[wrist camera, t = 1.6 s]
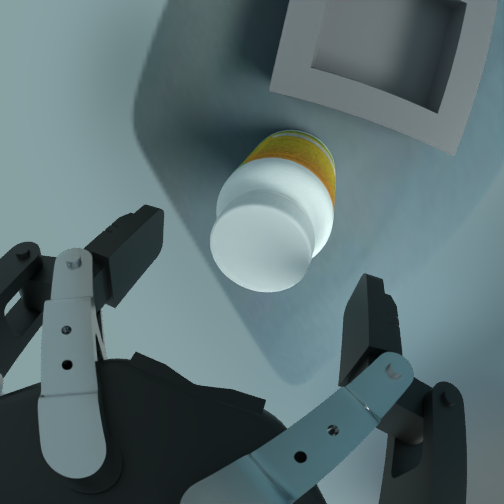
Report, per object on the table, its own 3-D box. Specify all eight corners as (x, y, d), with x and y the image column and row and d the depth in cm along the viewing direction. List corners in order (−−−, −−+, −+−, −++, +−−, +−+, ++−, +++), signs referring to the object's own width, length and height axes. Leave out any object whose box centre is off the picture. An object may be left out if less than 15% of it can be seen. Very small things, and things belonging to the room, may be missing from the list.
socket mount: (314, -55, 11) (308, -77, 8) (474, 3, 10) (498, -5, 7) (280, 86, 17) (268, 91, 14) (436, 140, 16) (454, 156, 13)
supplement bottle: (258, 120, 18) (194, 171, 11) (344, 139, 18) (348, 207, 10) (247, 196, 22) (190, 286, 14) (324, 215, 21) (309, 319, 13)
